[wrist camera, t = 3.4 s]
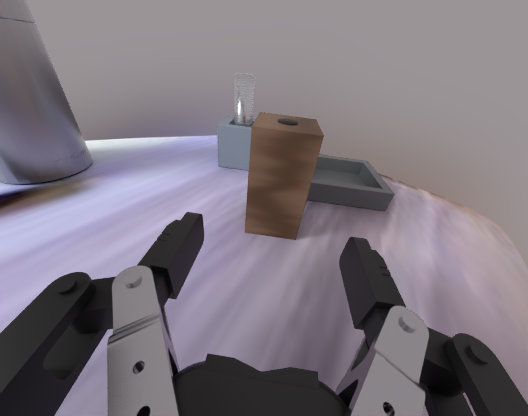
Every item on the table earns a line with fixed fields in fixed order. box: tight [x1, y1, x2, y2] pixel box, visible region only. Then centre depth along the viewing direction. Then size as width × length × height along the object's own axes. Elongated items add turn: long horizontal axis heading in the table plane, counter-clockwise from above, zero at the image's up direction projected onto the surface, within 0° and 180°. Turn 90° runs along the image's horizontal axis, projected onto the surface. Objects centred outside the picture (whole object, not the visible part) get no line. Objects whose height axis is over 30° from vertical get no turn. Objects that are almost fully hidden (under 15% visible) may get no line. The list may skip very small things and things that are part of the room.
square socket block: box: [217, 116, 256, 170], centre depth 32 cm, size 6×6×6 cm
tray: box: [306, 155, 394, 211], centre depth 29 cm, size 12×10×2 cm
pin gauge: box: [234, 73, 255, 127], centre depth 30 cm, size 3×3×12 cm
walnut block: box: [245, 112, 324, 240], centre depth 19 cm, size 5×5×10 cm
